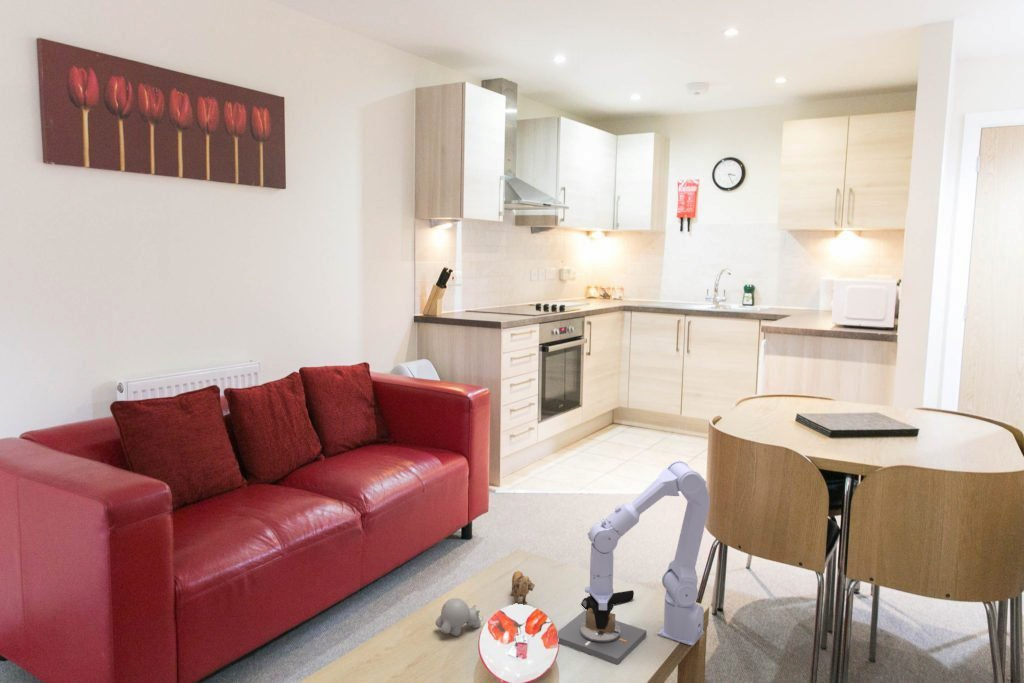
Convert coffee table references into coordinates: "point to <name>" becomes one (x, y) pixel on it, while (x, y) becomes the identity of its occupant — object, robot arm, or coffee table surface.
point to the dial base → (603, 650)
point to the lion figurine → (521, 586)
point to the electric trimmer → (614, 599)
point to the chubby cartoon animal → (457, 617)
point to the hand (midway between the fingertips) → (600, 623)
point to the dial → (599, 635)
